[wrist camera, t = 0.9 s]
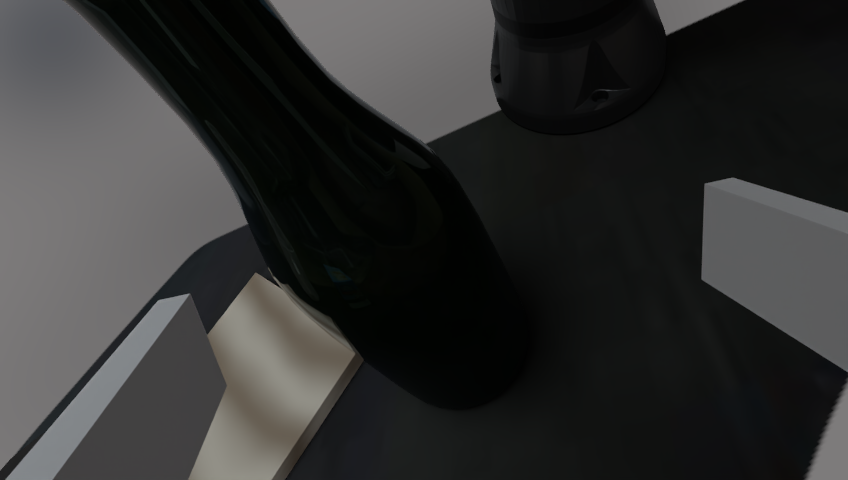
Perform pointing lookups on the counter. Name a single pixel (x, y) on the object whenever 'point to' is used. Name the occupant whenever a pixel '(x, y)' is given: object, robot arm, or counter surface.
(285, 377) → the board
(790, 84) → the counter surface
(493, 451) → the counter surface
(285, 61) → the dark green wine bottle
